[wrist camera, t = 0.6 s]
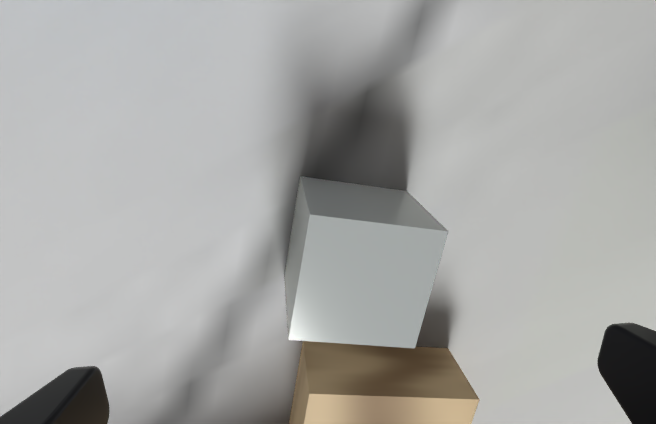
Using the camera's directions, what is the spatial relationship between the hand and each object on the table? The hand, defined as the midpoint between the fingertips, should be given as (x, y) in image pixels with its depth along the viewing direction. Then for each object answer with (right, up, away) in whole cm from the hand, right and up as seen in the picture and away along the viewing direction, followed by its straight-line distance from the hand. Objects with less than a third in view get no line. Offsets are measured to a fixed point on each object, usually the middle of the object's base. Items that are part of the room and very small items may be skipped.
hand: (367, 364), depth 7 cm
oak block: (+1, -8, +17) cm, 18 cm away
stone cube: (0, +2, +13) cm, 13 cm away
